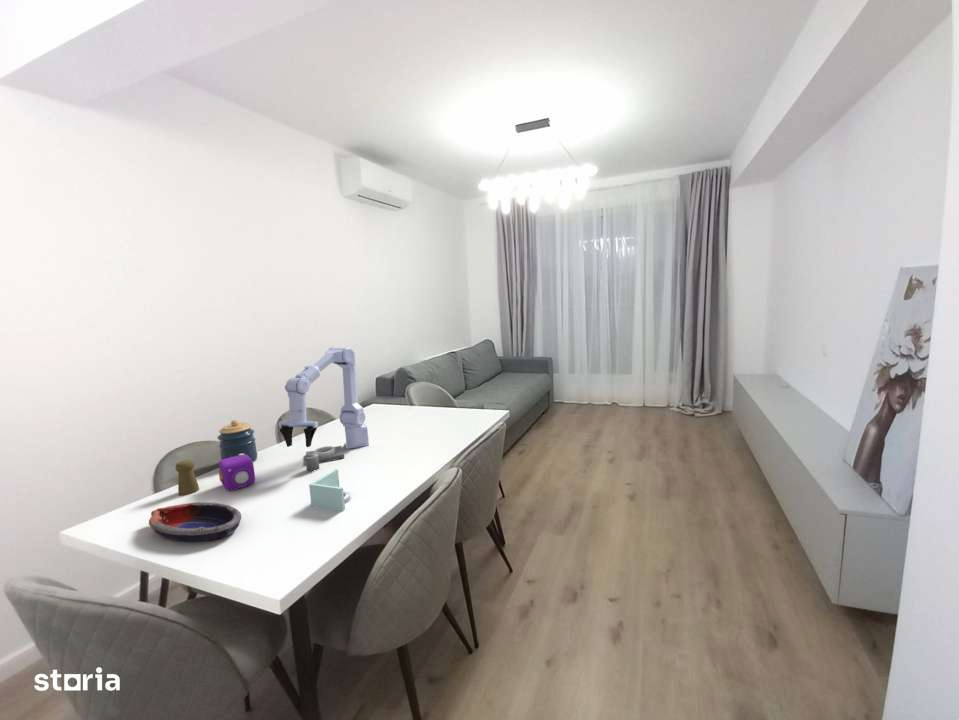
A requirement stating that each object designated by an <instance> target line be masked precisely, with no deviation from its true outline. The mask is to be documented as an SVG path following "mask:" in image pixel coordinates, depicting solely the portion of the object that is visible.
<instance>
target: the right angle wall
mask: <svg viewBox="0 0 959 720" xmlns="http://www.w3.org/2000/svg"><path fill="white" fill-rule="evenodd" d="M308 487H309V496H310V504H311V505H312V506H311V507H317V508H322V509H323V508H324V509H330V510H337V511H343V512H344V511H345V510H346V503H349V501H351V499H352V497H351V496H352V494H351V493H352V492H350V491H345V490H344V488H343V487H342V486H341V487H340V477H339V469H337V468H335V469H333V470H332V471H330V472H328V473H326V474H325V475H323V476H321V477H319V478H318V479H316V480H315V481H313V482H311V483H309V484H308Z"/></svg>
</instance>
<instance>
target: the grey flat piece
mask: <svg viewBox="0 0 959 720" xmlns="http://www.w3.org/2000/svg"><path fill="white" fill-rule="evenodd" d="M312 452H316V453H318V461H319V462H321V463H324V462H323V461H327V462H330V461H329V460H332V461H335V460H334V459H337V460H341V459H340V458H342V459H344V458H345V453H344V451H343V447H342V445H337V446H328V445H326V446H321V447H318V448H316V449H314V450H309V451H306V452H305V455H306V454H308V453H312Z"/></svg>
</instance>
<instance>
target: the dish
mask: <svg viewBox="0 0 959 720" xmlns="http://www.w3.org/2000/svg"><path fill="white" fill-rule="evenodd" d="M241 520H242V513H241V511H240V510H238V509H237V508H236V507H234V506H233V505H228V504H226V503H225V504H224V503H219V502H207V501H200V502H199V501H198V502H197V501H196V502H187V503H181V504H177V505H176V504H175V505H169V506H165V507H160V508H157V509H154V510H151V512H150V517H149V519H148V525H149V527H150V528H151V530H153V531H154V533H155V534H157V535H159V536H160V537H162V538H164V539H168V540H172V541H179V542H180V541H182V542H206V541H213V540H217V539H221V538H224V537H227V536H229V535H231V534H233V533H234V532H235V531H236V530H237V528H238V527H239V526H240V524H241V523H240V522H241Z"/></svg>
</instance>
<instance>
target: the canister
mask: <svg viewBox="0 0 959 720" xmlns="http://www.w3.org/2000/svg"><path fill="white" fill-rule="evenodd" d="M218 433H219V435H218V436H217V440H218V441H219V443H218V447H219V455H220V461H221V460H223V459H227V458H231V457H235V456H239V454H241V453H244V454H246V455H248V456H249V457H250V458H251V459H252V461H253V463H254V462H255V461H257V459H258V450H257V445H256V438H255V437H254V433H255V430H254V429H252V425H251V424H248V423H247V422H239V421H238V420H236V419H233V420H232V421H231V422H230V424H227V425H225V426H223V427H222V428H220V430H219V431H218Z"/></svg>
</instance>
